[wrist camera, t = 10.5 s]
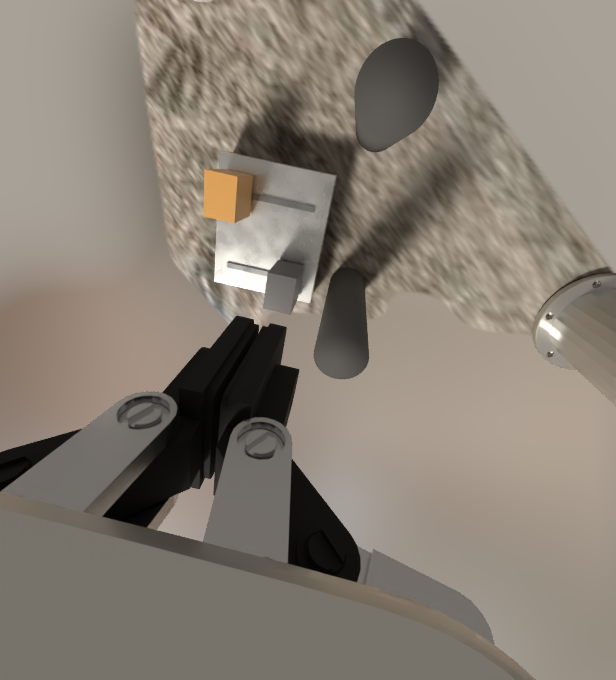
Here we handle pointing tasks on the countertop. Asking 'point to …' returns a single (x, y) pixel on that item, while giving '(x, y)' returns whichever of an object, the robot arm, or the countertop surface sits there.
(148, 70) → the countertop surface
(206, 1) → the bath foam
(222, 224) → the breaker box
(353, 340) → the post
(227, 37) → the countertop surface
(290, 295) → the grey small block
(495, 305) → the countertop surface
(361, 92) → the post
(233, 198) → the tab orange
